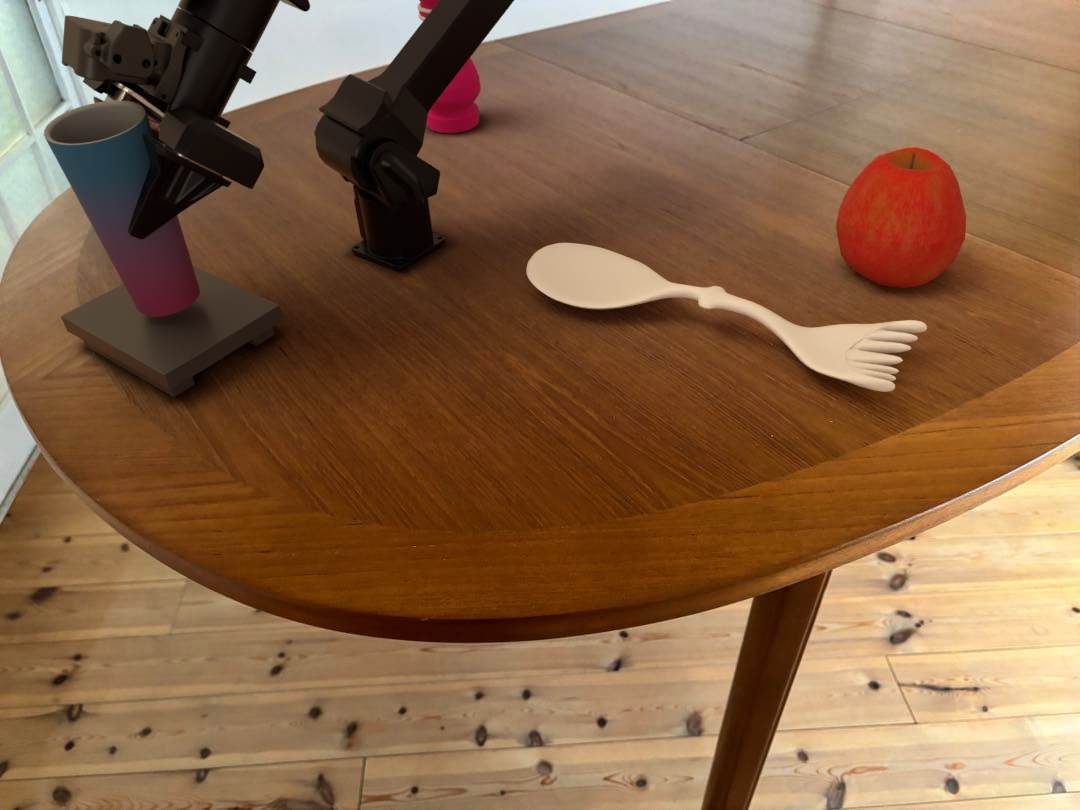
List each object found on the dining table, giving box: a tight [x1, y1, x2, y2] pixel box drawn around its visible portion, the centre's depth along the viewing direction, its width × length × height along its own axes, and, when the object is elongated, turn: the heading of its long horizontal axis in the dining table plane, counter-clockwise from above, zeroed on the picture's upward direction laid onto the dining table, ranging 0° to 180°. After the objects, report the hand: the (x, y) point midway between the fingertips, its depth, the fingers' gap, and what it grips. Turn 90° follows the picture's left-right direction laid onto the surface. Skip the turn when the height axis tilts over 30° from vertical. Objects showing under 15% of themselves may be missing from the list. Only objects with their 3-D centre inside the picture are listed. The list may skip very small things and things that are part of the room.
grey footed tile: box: [60, 265, 284, 398], centre depth 75 cm, size 14×11×3 cm
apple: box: [835, 146, 967, 289], centre depth 76 cm, size 10×10×10 cm
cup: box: [43, 100, 200, 317], centre depth 68 cm, size 7×7×15 cm
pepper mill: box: [417, 0, 482, 134], centre depth 102 cm, size 7×7×20 cm
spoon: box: [525, 242, 928, 393], centre depth 73 cm, size 9×32×4 cm, turn 57°
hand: (119, 221), depth 68 cm, fingers closed on cup, 6 cm apart
